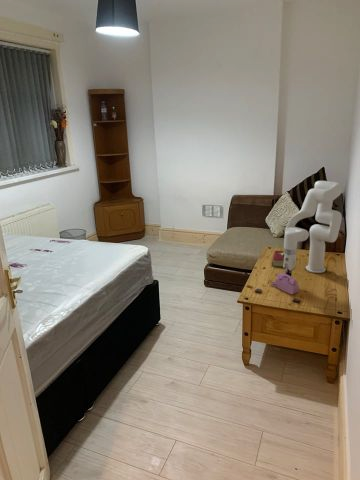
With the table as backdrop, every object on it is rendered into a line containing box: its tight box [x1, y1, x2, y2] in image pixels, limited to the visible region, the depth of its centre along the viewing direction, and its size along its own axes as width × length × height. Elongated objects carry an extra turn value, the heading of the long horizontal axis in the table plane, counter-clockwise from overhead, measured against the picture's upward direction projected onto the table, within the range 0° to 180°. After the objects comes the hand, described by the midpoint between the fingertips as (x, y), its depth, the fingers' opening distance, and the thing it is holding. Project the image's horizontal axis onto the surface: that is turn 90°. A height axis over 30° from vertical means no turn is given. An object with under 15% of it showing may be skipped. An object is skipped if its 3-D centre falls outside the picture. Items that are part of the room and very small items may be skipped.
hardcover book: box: [271, 249, 285, 268], centre depth 257 cm, size 12×21×4 cm, turn 162°
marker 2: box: [292, 297, 301, 304], centre depth 204 cm, size 3×3×1 cm
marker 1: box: [254, 288, 263, 294], centre depth 216 cm, size 3×3×1 cm
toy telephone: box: [270, 272, 299, 295], centre depth 217 cm, size 18×6×10 cm, turn 32°
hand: (288, 277), depth 223 cm, fingers closed
